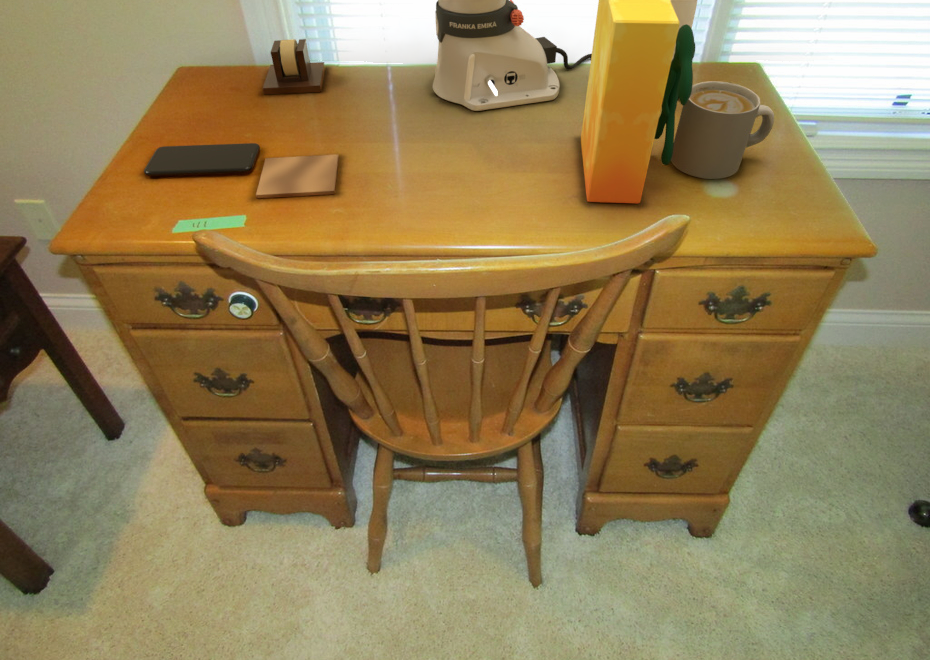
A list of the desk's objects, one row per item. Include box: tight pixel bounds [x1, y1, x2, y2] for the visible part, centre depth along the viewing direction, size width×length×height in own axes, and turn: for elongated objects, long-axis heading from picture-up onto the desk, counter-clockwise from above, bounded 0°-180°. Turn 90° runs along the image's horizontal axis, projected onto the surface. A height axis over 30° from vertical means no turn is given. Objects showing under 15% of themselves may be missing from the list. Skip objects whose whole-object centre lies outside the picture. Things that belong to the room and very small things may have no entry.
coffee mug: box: [670, 80, 775, 180], centre depth 91 cm, size 13×10×10 cm
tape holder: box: [262, 38, 326, 96], centre depth 113 cm, size 10×10×6 cm
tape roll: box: [280, 38, 301, 76], centre depth 113 cm, size 2×6×6 cm, turn 5°
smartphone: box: [143, 142, 261, 177], centre depth 96 cm, size 8×1×16 cm
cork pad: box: [255, 153, 340, 199], centre depth 93 cm, size 11×10×1 cm
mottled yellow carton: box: [580, 0, 696, 204], centre depth 85 cm, size 18×12×24 cm
